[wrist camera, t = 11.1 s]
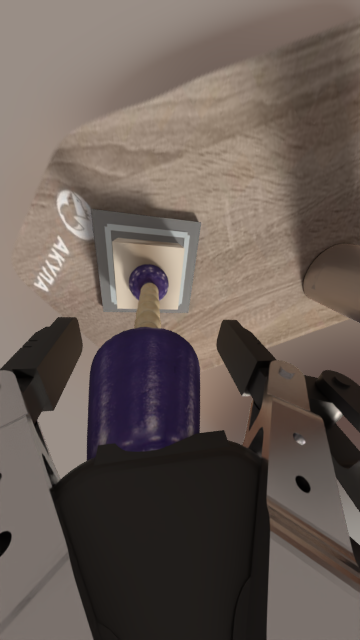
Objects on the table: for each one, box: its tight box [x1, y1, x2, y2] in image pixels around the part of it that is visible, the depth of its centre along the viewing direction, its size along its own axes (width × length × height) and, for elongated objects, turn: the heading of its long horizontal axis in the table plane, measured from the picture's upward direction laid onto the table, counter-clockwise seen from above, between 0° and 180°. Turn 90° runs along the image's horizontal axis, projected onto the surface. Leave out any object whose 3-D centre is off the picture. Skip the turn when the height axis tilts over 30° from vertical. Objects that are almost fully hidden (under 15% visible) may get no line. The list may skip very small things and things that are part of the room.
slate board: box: [91, 209, 201, 313], centre depth 23 cm, size 12×12×1 cm
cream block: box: [112, 238, 185, 310], centre depth 20 cm, size 7×7×4 cm
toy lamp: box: [87, 264, 200, 461], centre depth 12 cm, size 5×5×17 cm
